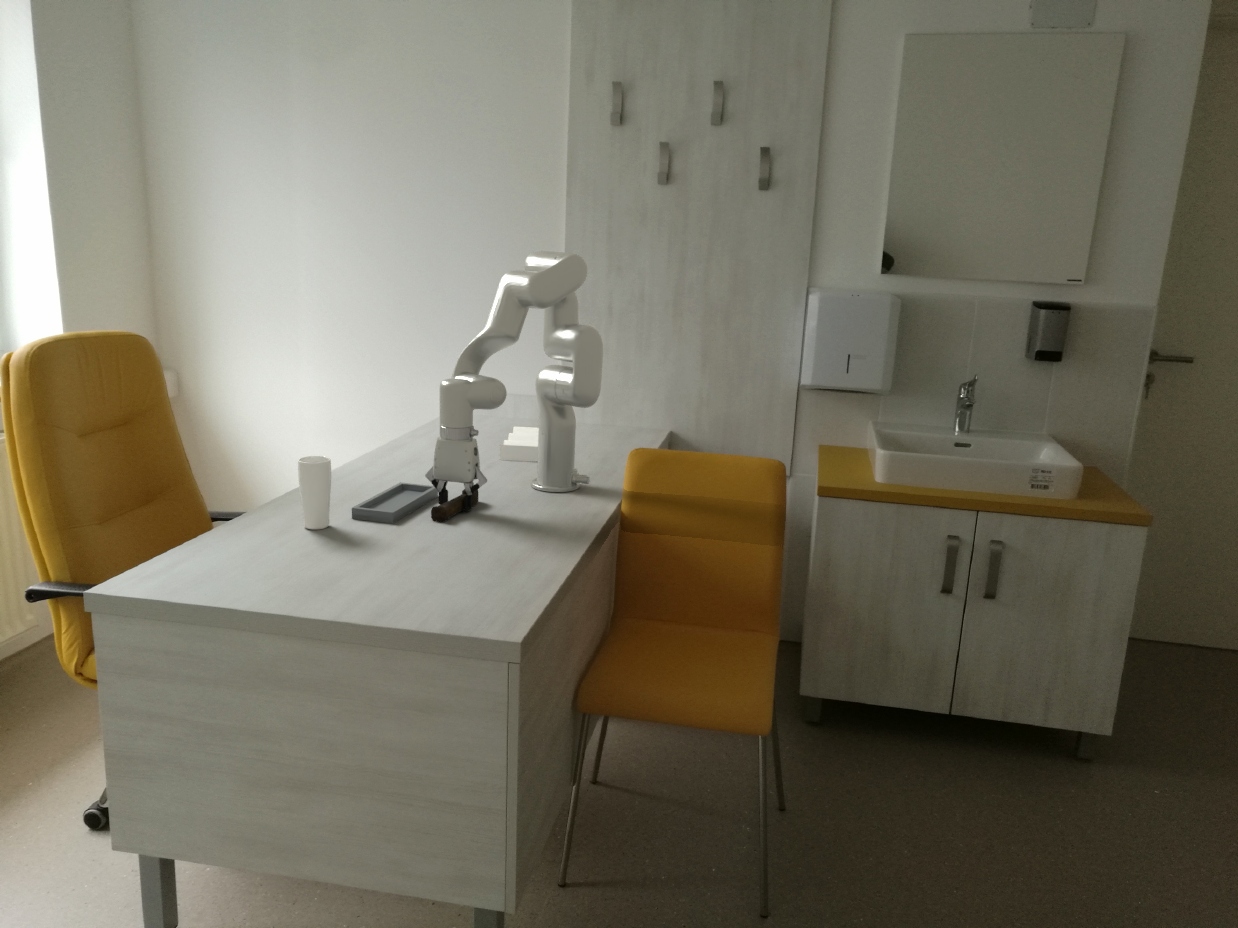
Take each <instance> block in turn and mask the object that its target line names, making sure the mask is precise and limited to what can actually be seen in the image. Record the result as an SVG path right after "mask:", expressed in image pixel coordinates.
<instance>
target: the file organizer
mask: <svg viewBox="0 0 1238 928" xmlns="http://www.w3.org/2000/svg"><path fill="white" fill-rule="evenodd" d="M512 429H513V430H512V432H509V433H508V436H507V437H508V438H507V439H504V440H503V444H499V446H498V447H499V448H498V461H510V462H512V461H514V462H530V463H531V462H532V463H533V462H534V463H538V432H539V427H537V426H536V427H535V426H534V427H528V426H513V428H512Z"/></svg>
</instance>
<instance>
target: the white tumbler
mask: <svg viewBox="0 0 1238 928" xmlns="http://www.w3.org/2000/svg"><path fill="white" fill-rule="evenodd" d="M297 477H298V485H299V494H300V500H301V501H300V502H301V510H302V516H303V517H302V518H303V520H302V521H303V522H302V523H303V526H304V528H305V529H308V530H314V531H315V530H324V529H326V528H328V527H329V526H330V510H331V509H330V508H331V505H330V504H331V492H332V491H331V490H332V461H331V458H330V457H328V456H322V455H311V456H304V457H300V458H298V460H297Z"/></svg>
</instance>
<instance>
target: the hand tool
mask: <svg viewBox="0 0 1238 928" xmlns="http://www.w3.org/2000/svg"><path fill="white" fill-rule="evenodd" d="M465 495H466V490H465V488H464V489H463V490H462V491H461V494H460V495H458V496H456V497H454V498H452V499H450V500H448V502H445V503H443V504H441V505H440V504H438V505H437V506H432V507H431V511H430V518H431V520H432V522H437V523H445V522H447V521H449V519H450V517H452V516H454V515H456V514H459V513H461V512H462V511H464V496H465ZM478 502H479V489H478V490H477V491H476V492H475V493H474V505H473V507H472V509H473V508H474V507H475V506H476V505H478Z"/></svg>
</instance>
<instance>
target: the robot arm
mask: <svg viewBox="0 0 1238 928" xmlns="http://www.w3.org/2000/svg"><path fill="white" fill-rule="evenodd" d="M587 275H588V265H587V263H586V260H585V259H584V258H583V257H582V256H581V255H579V254H577V253H572V252H558V251H545V250H544V251H543V250H541V251H540V250H539V251H533V252H531V253H529V254H528V255H527V256H526V258H525V260H524V270H521V269H518V270H517V269H515V270H510V271H507V272H505V273H504V274H503V275H502V276H501V278H500V280H499V282H498V285H497V289H496V291H495V293H494V297H493V300H492V304H491V307H490V309H489V312H488V315H487V318H486V321H485V322H484V323H485V324H484V325H483V328H482V329H481V331H480V332H479V333H478V334H477V335H475V336H474V337H473V338H472V339H471V341H470V342H469V343H468V344H467V345H466V347H464V348H463V349H462V351H461V353H460V354H459V356H458V358H457V360H456V363H455V365H454V369H453V372H452V376H451V378H445V379H443V380H442V381H441V382H440V383H439V436H438V437H436V443H435V447H434V455H433V465H432V466H431V468H430V469H429V470H428V471H427V472H426V473H425V475H424V476H425V478H426V479H427V480H428V481H429V482H430V483H431V484H432V486H434V487H435V488H436V490H437V492H438V505H441V504H443V503H445V502H448V501H449V491H448V489H447V485H448V482H450V483H461V484H463V486H464V489H465V490H466V495H465V496H464V510H463V512H465V513H468V512H470V511H471V510H472V509H473V508H474V507H473V505H474V493H475V492H476V491H477V490H478V491H479V489H480V488H481V487H482V486H485V484H487V482H488V479H487V477H486V476H485V474H484V473H483V472H482V471H481V462H480V461H481V460H480V452H479V445H478V442H477V441H478V440H477V438H475V437H478V436H479V432H480V431H479V430H478V429H475V428H474V411H475V410H485V411H486V410H487V411H488V410H489V411H490V410H495V409H498V408H500V407H501V406H502V405H503V404H504V403H505V400H506V399H507V393H508V392H507V388H506V386H505V384H504V383H503V381H501V380H499V379H498V378H495V377H492V376H486V375H481V374H480V372H481V369H482V367H483V366H484V364H485V363H486V361H487V360H489V358H491V357H492V356H493V355H495V354H496V353H499V352H500V351H502V350H504V349H508V347H511V346H513V345H515V344H516V343H517V342H518V341H519V340H520V335H521V333H522V330H523V326H524V324H525V321H526V317H527V315H528V312H529V310H530V309H536V310H543V311H544V313H543V315H544V316H543V317H544V318H543V340H542V342H543V351H544V353H545V355H546V356H547V357H548V358H551V359H553V360H556V361H561V362H569V363H572V366H566V365H562V364H561V365H560V364H551V365H547V366H544V367H543V368H541V369H540V370H539V371H538V373H537V374H536V375H537V376H536V378H535V392H536V398H537V406H538V428H539V432H538V462H537V477H535V478H533V479H531V482H530V485H531V487H532V489H533V488H534V489H535V490H538V491H541V492H549V493H567V492H572V491H577V490H578V489H579V488H580V485H581V484H585V485H589V484H590V479H591V478H590V476H588V475H587V474H580V473H578V468H575V461H576V460H575V459H576V458H575V455H576V429H577V426H576V425H577V420H576V415H575V411H574V408H573V407H576V408H581V409H582V408H583V409H586V408H590V407H592V406H594V405H595V404H596V403H597V401H598V399H599V397H600V394H601V388H602V378H603V377H602V375H603V362H604V359H603V357H604V344H603V339H602V337H601V336H602V335H601V334H600V332H599V331H598V330H597V329H596V328H595V327H593V326H590V325H588V324H587V325H586V324H579V300H578V296H577V293H576V291H577V290H579V289H580V288H581V287H582V286H583V285H584V283H585V282H586V280H587ZM475 480H477V482H476V483H475V484H474V481H475ZM472 507H473V508H472Z"/></svg>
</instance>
